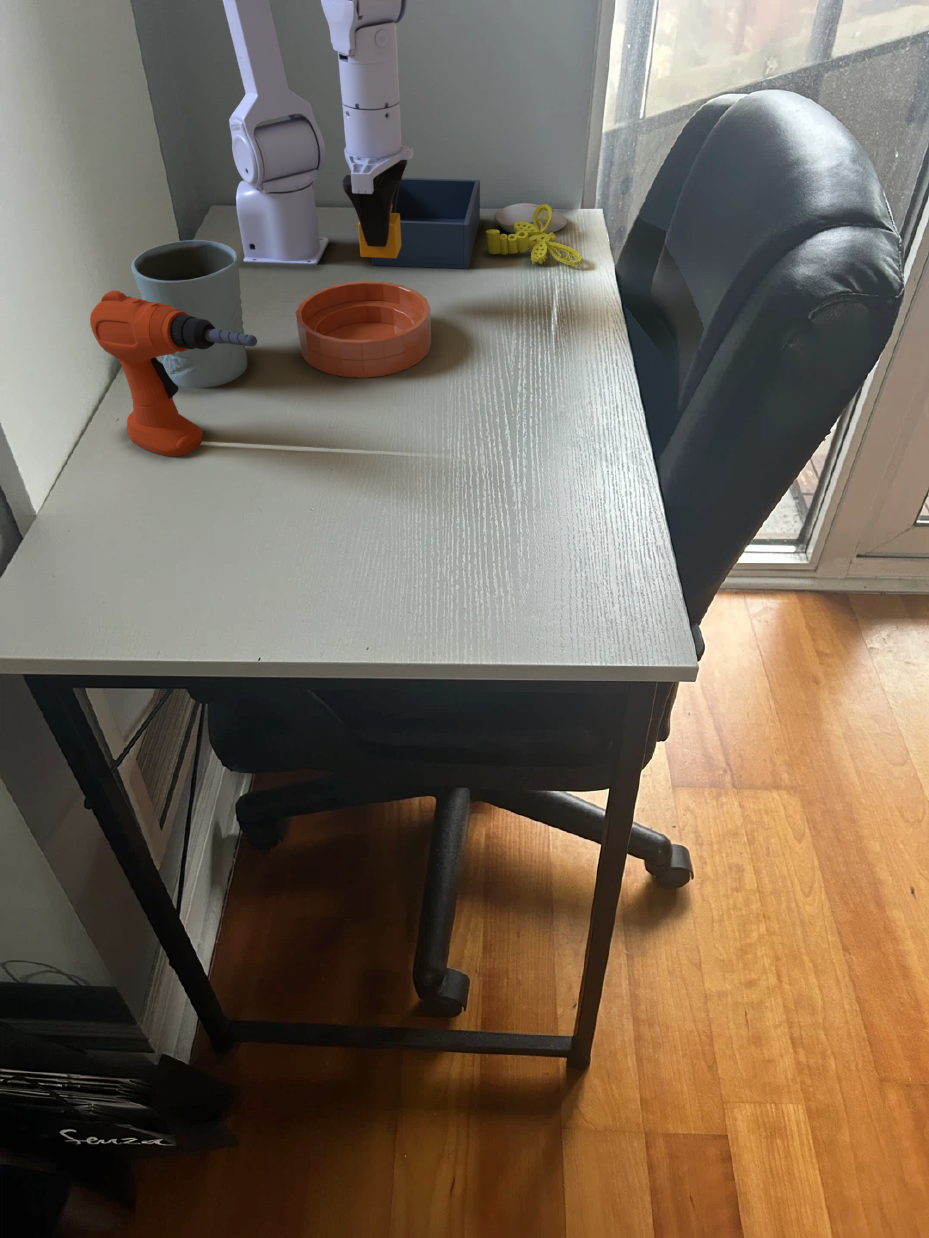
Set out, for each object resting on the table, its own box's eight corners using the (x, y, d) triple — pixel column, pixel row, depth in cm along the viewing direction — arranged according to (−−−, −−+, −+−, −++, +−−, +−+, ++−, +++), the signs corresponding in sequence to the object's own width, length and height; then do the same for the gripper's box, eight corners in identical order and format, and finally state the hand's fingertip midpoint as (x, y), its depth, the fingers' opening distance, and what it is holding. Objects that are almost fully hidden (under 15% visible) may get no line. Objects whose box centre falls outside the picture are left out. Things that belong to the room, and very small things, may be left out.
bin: (372, 265, 119) (369, 221, 115) (391, 218, 130) (389, 177, 126) (468, 269, 118) (468, 224, 114) (479, 221, 129) (479, 180, 125)
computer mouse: (571, 232, 126) (572, 210, 124) (499, 240, 124) (500, 217, 122) (557, 216, 130) (559, 193, 128) (488, 223, 128) (488, 200, 126)
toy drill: (274, 481, 83) (226, 319, 74) (121, 449, 91) (60, 299, 82) (306, 454, 86) (264, 294, 77) (155, 425, 94) (100, 277, 85)
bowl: (287, 378, 99) (281, 339, 96) (317, 316, 109) (312, 278, 106) (421, 385, 98) (419, 345, 95) (438, 321, 108) (437, 283, 105)
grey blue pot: (147, 392, 97) (116, 280, 89) (175, 345, 104) (149, 237, 96) (244, 395, 97) (222, 282, 88) (265, 347, 104) (247, 239, 95)
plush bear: (360, 257, 103) (355, 192, 98) (366, 244, 105) (361, 180, 101) (396, 258, 103) (392, 193, 98) (401, 246, 105) (398, 181, 100)
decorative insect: (508, 290, 117) (584, 267, 118) (506, 268, 114) (583, 245, 115) (476, 231, 124) (547, 210, 125) (473, 209, 121) (546, 187, 122)
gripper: (398, 126, 88) (405, 267, 98) (421, 81, 98) (425, 213, 108) (324, 123, 89) (339, 265, 98) (354, 79, 99) (365, 211, 108)
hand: (380, 238), depth 103 cm, fingers closed on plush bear, 3 cm apart
